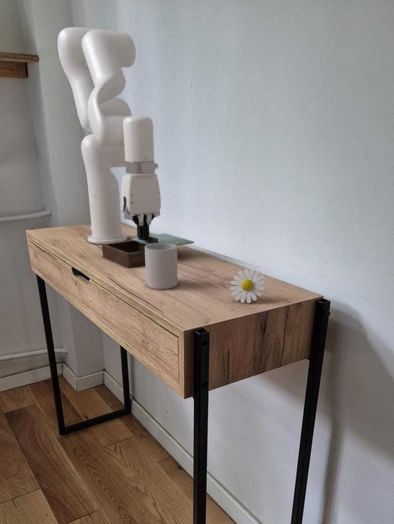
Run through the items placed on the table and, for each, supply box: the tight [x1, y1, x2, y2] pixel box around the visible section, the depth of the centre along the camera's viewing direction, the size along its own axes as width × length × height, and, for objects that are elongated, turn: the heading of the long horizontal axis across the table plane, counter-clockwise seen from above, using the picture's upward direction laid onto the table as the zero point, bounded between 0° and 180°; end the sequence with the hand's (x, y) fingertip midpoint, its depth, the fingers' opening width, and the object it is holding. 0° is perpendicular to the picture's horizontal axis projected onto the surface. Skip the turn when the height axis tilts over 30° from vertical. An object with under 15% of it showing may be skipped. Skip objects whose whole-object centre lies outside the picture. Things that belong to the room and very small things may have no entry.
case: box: [101, 239, 146, 269], centre depth 133 cm, size 15×12×4 cm
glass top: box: [131, 233, 195, 247], centre depth 137 cm, size 15×12×2 cm
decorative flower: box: [229, 268, 267, 304], centre depth 105 cm, size 8×6×15 cm
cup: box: [145, 243, 179, 290], centre depth 111 cm, size 7×10×9 cm
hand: (143, 239), depth 133 cm, fingers closed
